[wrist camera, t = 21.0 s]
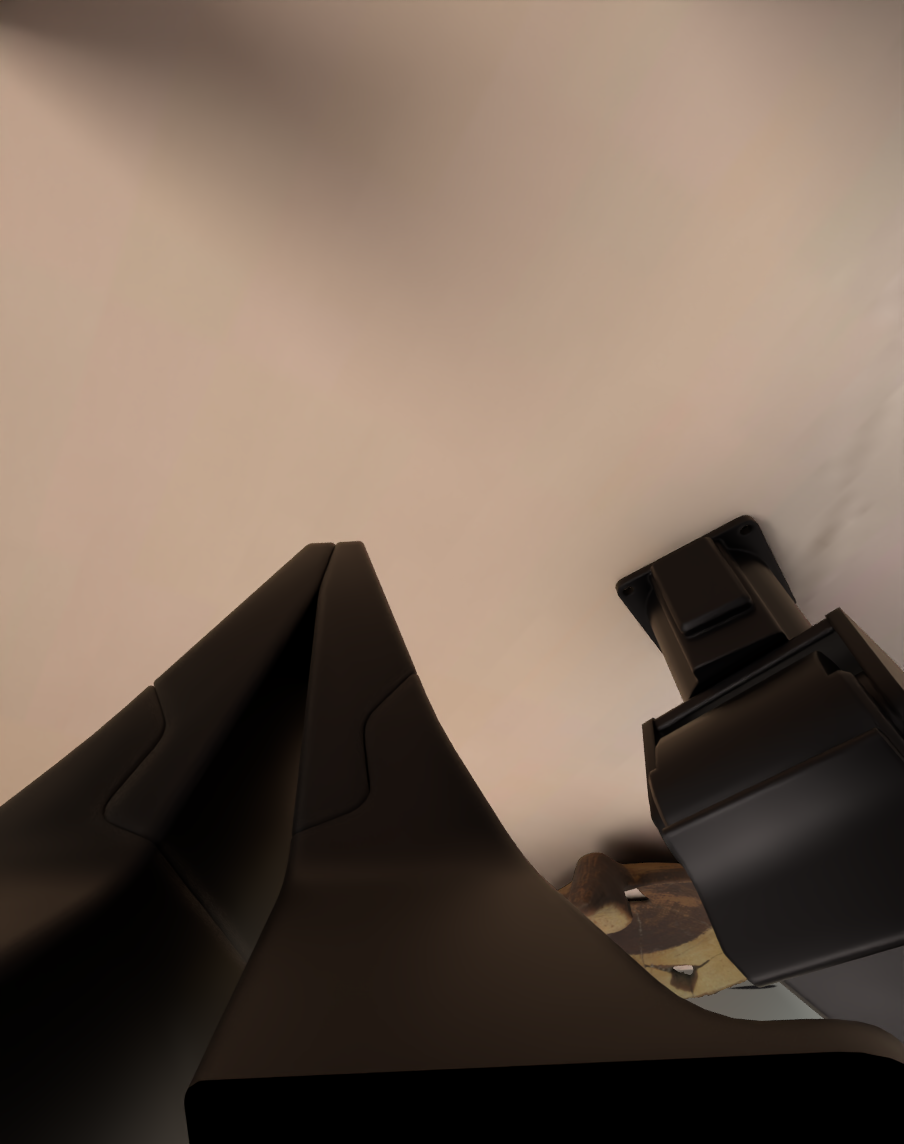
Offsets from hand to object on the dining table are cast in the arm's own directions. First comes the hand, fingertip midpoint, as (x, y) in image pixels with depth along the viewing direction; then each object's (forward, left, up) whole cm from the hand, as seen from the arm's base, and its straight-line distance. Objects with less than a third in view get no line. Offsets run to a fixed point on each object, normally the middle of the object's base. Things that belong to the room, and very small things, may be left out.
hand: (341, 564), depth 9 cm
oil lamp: (-45, +12, -13) cm, 48 cm away
